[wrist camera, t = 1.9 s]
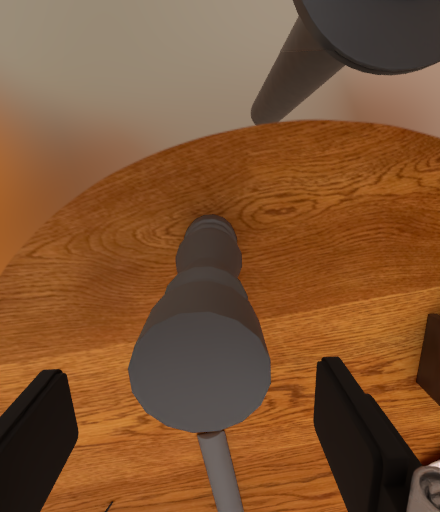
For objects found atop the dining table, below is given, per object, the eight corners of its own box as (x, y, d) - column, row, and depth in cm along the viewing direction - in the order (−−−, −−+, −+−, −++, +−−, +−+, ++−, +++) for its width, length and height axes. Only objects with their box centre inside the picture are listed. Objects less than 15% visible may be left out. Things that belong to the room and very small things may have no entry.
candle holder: (183, 259, 36) (118, 430, 12) (188, 211, 34) (124, 295, 10) (231, 265, 36) (263, 444, 12) (239, 217, 35) (292, 314, 11)
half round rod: (220, 518, 49) (220, 531, 47) (195, 430, 43) (195, 440, 42) (244, 515, 48) (245, 527, 47) (223, 425, 43) (223, 435, 42)
